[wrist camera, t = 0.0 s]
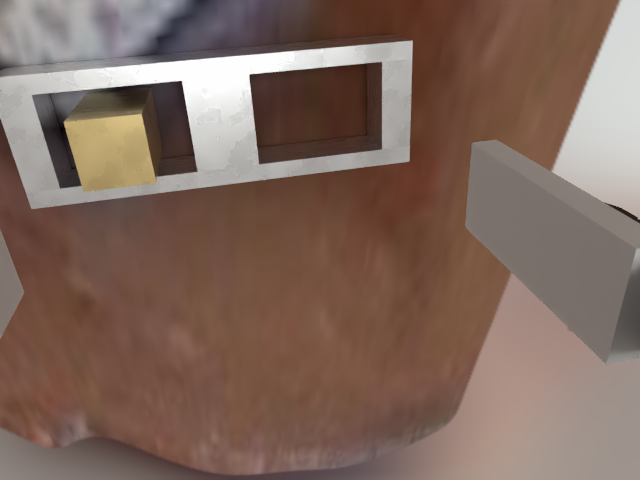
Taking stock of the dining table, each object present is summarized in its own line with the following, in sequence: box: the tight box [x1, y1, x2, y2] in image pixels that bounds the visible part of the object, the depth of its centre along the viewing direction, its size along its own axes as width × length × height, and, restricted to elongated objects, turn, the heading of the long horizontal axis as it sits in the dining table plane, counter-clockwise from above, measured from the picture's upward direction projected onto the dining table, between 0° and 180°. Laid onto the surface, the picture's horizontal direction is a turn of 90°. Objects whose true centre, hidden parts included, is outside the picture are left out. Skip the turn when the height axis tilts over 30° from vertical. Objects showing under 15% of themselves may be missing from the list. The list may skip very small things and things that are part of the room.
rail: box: [0, 34, 413, 209], centre depth 39 cm, size 9×28×4 cm, turn 94°
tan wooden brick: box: [64, 87, 163, 192], centre depth 36 cm, size 4×4×8 cm
